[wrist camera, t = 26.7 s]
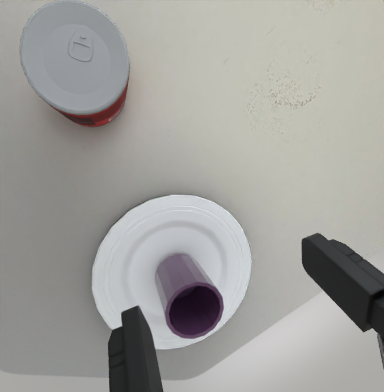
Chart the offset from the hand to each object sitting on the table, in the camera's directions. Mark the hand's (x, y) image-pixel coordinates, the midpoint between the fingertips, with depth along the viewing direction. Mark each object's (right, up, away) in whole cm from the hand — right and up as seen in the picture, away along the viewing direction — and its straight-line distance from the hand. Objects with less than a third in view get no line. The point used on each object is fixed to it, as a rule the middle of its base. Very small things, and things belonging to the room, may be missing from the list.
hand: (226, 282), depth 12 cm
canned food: (-13, +16, +18) cm, 27 cm away
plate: (-4, -6, +24) cm, 25 cm away
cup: (-3, -6, +22) cm, 23 cm away
